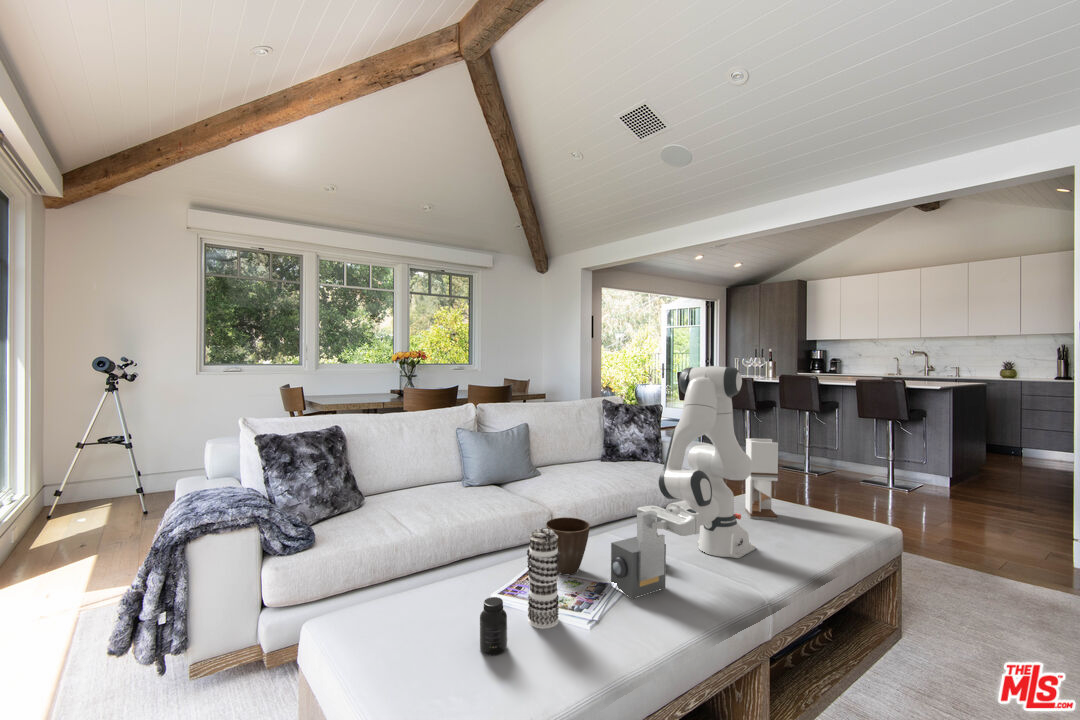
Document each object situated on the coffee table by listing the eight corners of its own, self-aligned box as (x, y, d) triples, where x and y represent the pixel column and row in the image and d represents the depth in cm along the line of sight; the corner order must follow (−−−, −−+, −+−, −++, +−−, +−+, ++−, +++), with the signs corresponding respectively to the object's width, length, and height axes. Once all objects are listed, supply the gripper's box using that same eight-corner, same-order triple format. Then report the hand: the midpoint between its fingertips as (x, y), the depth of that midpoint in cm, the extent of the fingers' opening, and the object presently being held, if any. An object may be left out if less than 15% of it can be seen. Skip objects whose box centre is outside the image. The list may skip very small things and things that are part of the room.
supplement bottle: (480, 641, 133) (480, 595, 133) (506, 640, 134) (507, 594, 134) (479, 657, 126) (479, 608, 126) (507, 655, 127) (507, 607, 127)
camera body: (643, 576, 173) (643, 534, 173) (665, 588, 164) (666, 544, 164) (605, 587, 165) (606, 543, 164) (627, 600, 156) (627, 554, 156)
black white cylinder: (549, 633, 137) (549, 539, 137) (520, 623, 142) (520, 532, 142) (565, 618, 145) (566, 529, 145) (537, 609, 150) (538, 523, 150)
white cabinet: (750, 518, 236) (751, 442, 235) (745, 511, 246) (746, 438, 246) (777, 520, 234) (778, 442, 234) (770, 513, 244) (771, 439, 244)
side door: (660, 572, 164) (660, 508, 164) (665, 575, 162) (666, 510, 161) (636, 579, 158) (637, 513, 158) (642, 582, 156) (642, 515, 156)
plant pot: (595, 566, 181) (595, 521, 181) (580, 583, 168) (580, 534, 167) (556, 559, 187) (556, 515, 187) (538, 575, 174) (538, 527, 174)
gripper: (655, 498, 175) (623, 505, 167) (703, 514, 157) (671, 523, 150) (655, 517, 175) (624, 524, 168) (703, 535, 158) (671, 544, 150)
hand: (646, 524), depth 159 cm, fingers closed on side door, 2 cm apart
